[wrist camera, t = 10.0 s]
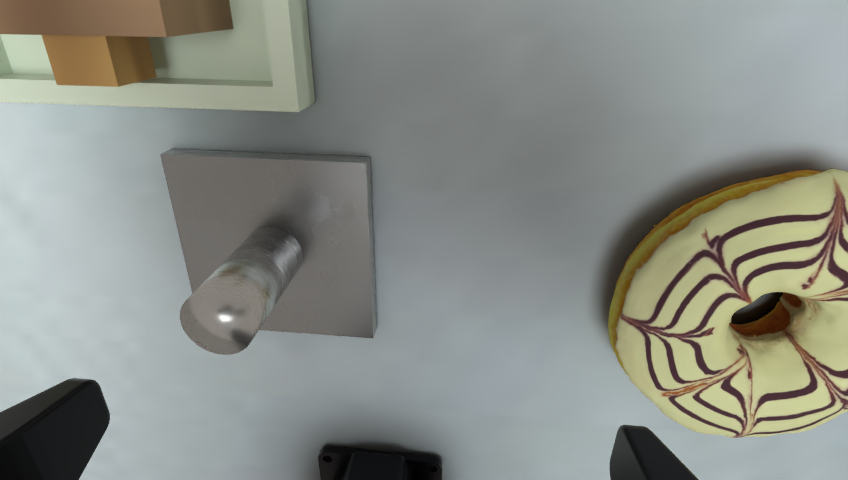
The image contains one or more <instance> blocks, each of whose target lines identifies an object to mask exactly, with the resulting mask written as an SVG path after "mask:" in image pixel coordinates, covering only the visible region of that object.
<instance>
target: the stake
mask: <svg viewBox="0 0 848 480" xmlns="http://www.w3.org/2000/svg"><path fill="white" fill-rule="evenodd" d="M161 159H162V163H163V167H164V172H165V176H166V180H167V185H168V189H169V193H170V198H171V202H172V206H173V211H174V215H175V219H176V224H177V228H178V232H179V236H180V241H181V245H182V249H183V254H184V258H185V262H186V267H187V271H188V275H189V280H190V284H191V288H192V293H193V294H192V295H191V296H190V297H189V298H188V299H187V300H186V301H185V303H184V304H183V306H182V308H181V312H180V320H181V324H182V327H183V329H184V331H185V332H186V334H187V335H188V336H189V338H190V339H191V340H192V341H193V342H195V343H196V344H197V345H199V346H200V347H202V348H203V349H205V350H208V351H210V352H213V353H217V354H234V353H238V352H240V351H242V350H244V349H245V348H246V347H247V346H248V345H249V343H250V342H251V340H252V339H253V337H254V336H255V334H256V333H257V331H258V330H268V331H282V332H296V333H310V334H323V335H337V336H351V337H364V338H374V334H375V331H376V328H377V322H376V295H375V268H374V241H373V215H372V188H371V161H370V157H359V156H335V155H311V154H287V153H263V152H239V151H214V150H190V149H171V150H169V151H167V152H164V153H162V154H161Z"/></svg>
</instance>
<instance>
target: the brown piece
mask: <svg viewBox="0 0 848 480" xmlns="http://www.w3.org/2000/svg"><path fill="white" fill-rule="evenodd" d="M229 29H233V22H232V15H231V9H230V2H229V0H0V34H19V35H42V39H43V42H44V45H45V48H46V51H47V55H48V58H49V61H50V64H51V68H52V71H53V74H54V77H55V80H56V84H57V85H71V86H108V87H119V86H123V85H128V84H132V83H136V82H140V81H144V80H148V79H152V78H156V77H157V76H156V71H155V67H154V62H153V58H152V53H151V49H150V44H149V40H148V37H171V36H180V35H188V34H196V33H204V32H212V31H221V30H229Z"/></svg>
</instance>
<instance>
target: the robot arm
mask: <svg viewBox="0 0 848 480" xmlns="http://www.w3.org/2000/svg"><path fill="white" fill-rule="evenodd" d="M109 420H110V413H109V410H108V407H107V404H106V402H105V399H104V396H103V393H102V391H101V388H100V386H99V384H98V383H97V382H96V381H95V380H90V379H78V378H73V379H68V380H66V381H64V382H62V383H60V384H58V385H56V386H54V387H51V388H49V389H47V390H45V391H43V392H41V393H39V394H37V395H35V396H33V397H31V398H29V399H27V400H25V401H23V402H21V403H19V404H17V405H15V406H12V407H10V408H8V409H6V410H4V411H2V412H0V480H79V478H80V476H81V474H82V473H83V471H84V469H85V467H86V465H87V464H88V462H89V460H90V458H91V456H92V455H93V453H94V451H95V449H96V447H97V446H98V444H99V442H100V440H101V438H102V436H103V435H104V433H105V431H106V429H107V427H108V424H109ZM318 460H319V468H320V477H321V480H442V461H441V459H440V458H438V457H436V456H430V455H419V454H408V453H398V452H387V451H376V450H365V449H354V448H344V447H333V446H325V447H323V448H322V449H321V451H320V454H319V457H318ZM610 477H611V480H698V479H697V478H696V476H695V475H694V474H693V473H692V472H691V471H690V470H689V469H688V468H687V467H686V466H685V465H684V464H683V463H682V462H681V461H680V460H679V459H678V458H677V457H676V456H675V455H674V454H673V453H672V452H671V451H670V450H669V449H668V448H667V447H666V446H665V445H664V444H663V443H662V442H661V440H660V439H659V438H658V437H657V436H656V435H655V434H654V433H653V432H652V431H651V430H649V429H648V428H646V427H643V426H632V425H622V426H620V428H619V429H618V432H617V435H616V439H615V443H614V447H613V451H612V455H611V459H610Z"/></svg>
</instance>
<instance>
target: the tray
mask: <svg viewBox="0 0 848 480" xmlns="http://www.w3.org/2000/svg"><path fill="white" fill-rule="evenodd" d="M229 2H230V9H231V15H232V22H233V29H229V30H221V31H212V32H204V33H196V34H188V35H180V36H171V37H148V40H149V44H150V49H151V53H152V58H153V62H154V67H155V71H156V76H157V77H156V78H152V79H148V80H144V81H140V82H136V83H132V84H128V85H123V86H119V87H108V86H71V85H57V84H56V80H55V77H54V74H53V71H52V68H51V64H50V61H49V58H48V55H47V51H46V48H45V45H44V42H43V39H42V35H19V34H0V102H14V103H43V104H73V105H102V106H132V107H161V108H190V109H220V110H249V111H279V112H300V111H302V110H303V109H305V108H307V107H308V106H310V105H311V104H313V103H314V102H315V96H314V84H313V72H312V60H311V48H310V36H309V25H308V13H307V1H306V0H229Z"/></svg>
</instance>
